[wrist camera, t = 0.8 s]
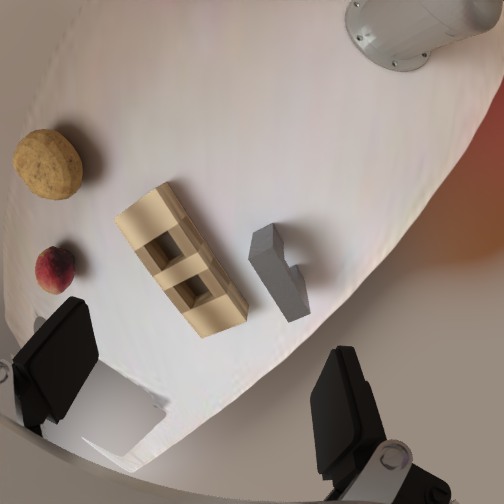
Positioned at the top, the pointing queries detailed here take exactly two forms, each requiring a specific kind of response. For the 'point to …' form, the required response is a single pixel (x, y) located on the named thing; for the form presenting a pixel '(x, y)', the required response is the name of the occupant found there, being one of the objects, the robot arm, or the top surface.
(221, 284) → the wooden block with holes
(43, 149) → the potato
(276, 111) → the top surface
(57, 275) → the fruit
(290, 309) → the gray pronged block
